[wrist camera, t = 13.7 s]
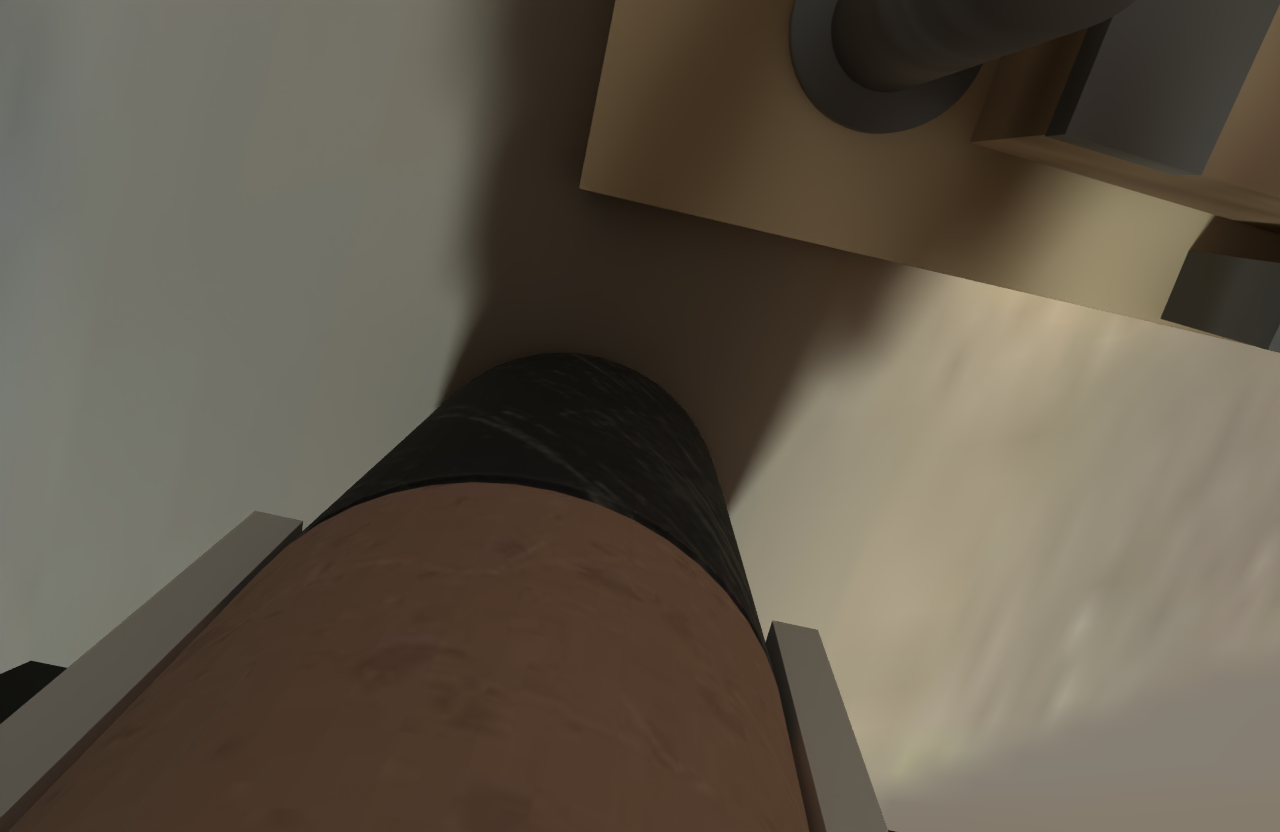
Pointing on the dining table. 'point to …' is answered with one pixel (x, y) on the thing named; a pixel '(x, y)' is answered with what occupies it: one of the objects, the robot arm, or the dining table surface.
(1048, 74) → the leg bar
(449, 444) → the travel mug
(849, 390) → the dining table surface
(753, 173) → the oak board
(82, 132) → the dining table surface
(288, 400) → the dining table surface
